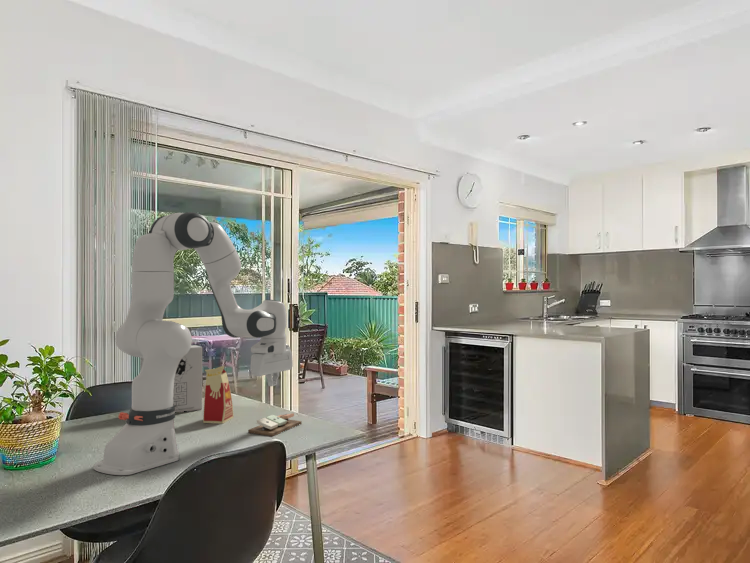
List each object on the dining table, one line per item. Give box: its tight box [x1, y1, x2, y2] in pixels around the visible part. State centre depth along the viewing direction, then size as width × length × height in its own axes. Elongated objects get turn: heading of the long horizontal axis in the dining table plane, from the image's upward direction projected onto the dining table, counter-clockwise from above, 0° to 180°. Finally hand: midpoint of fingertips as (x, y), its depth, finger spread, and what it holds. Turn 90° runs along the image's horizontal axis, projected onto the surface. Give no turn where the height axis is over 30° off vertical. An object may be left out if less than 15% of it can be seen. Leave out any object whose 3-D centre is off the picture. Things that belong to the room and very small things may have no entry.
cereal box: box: [139, 344, 203, 413], centre depth 204 cm, size 22×8×25 cm, turn 124°
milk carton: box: [202, 365, 234, 425], centre depth 190 cm, size 9×9×20 cm
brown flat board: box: [247, 418, 302, 437], centre depth 179 cm, size 17×10×2 cm, turn 155°
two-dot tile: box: [265, 414, 287, 426], centre depth 179 cm, size 4×6×1 cm, turn 65°
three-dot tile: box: [276, 413, 295, 419], centre depth 184 cm, size 4×6×1 cm, turn 65°
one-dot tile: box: [255, 417, 278, 430], centre depth 175 cm, size 4×6×1 cm, turn 65°
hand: (272, 385), depth 182 cm, fingers closed
